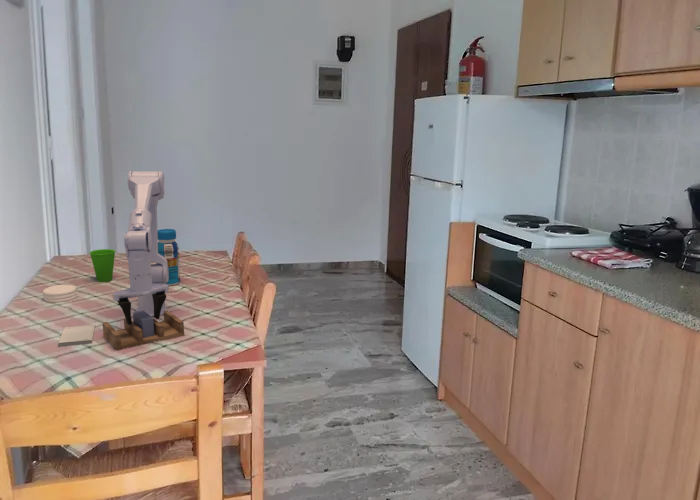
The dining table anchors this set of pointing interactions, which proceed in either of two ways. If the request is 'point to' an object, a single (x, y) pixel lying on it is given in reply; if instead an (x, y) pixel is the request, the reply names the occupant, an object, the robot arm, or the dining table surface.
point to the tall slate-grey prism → (144, 323)
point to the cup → (103, 264)
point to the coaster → (59, 293)
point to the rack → (135, 335)
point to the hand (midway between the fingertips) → (143, 320)
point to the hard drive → (77, 335)
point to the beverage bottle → (169, 254)
